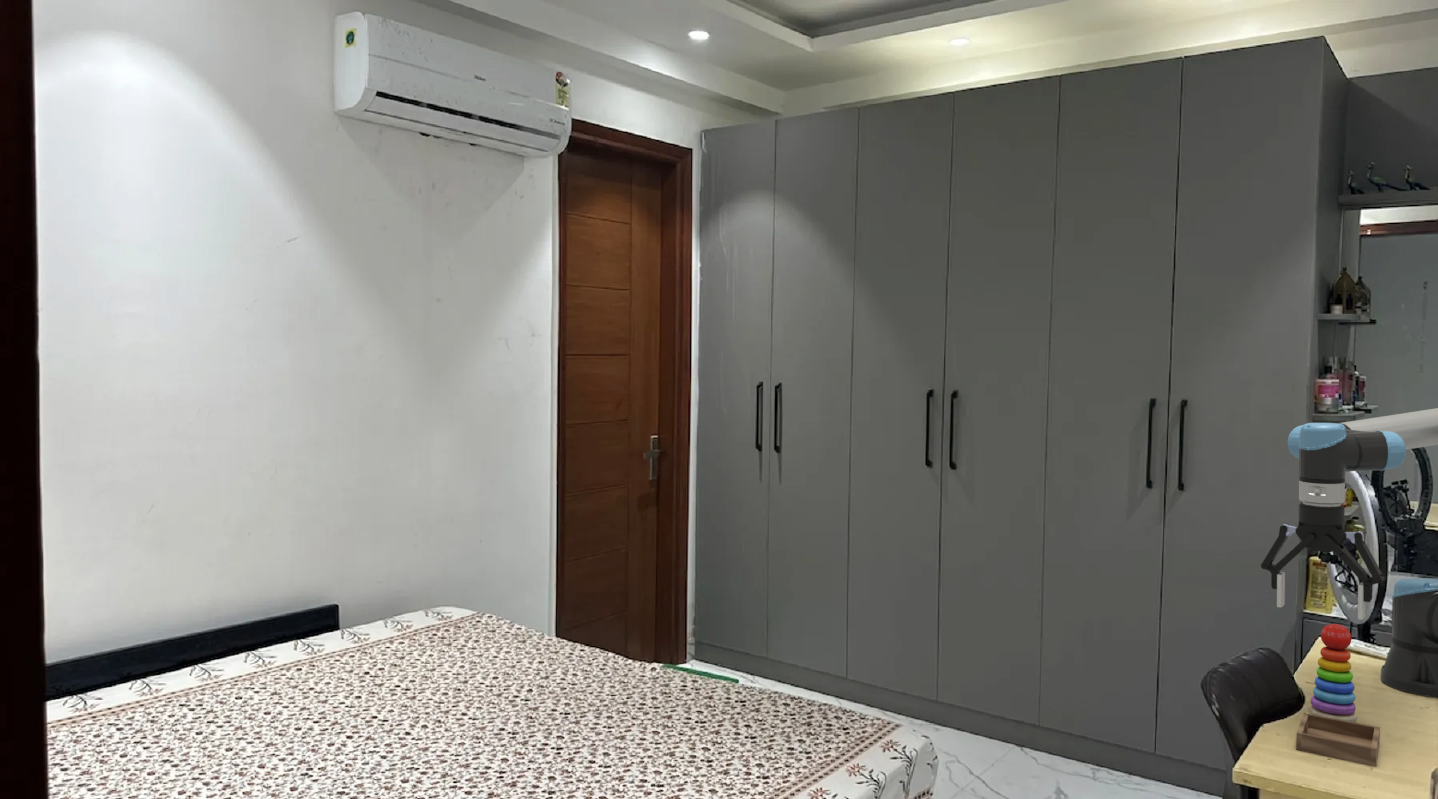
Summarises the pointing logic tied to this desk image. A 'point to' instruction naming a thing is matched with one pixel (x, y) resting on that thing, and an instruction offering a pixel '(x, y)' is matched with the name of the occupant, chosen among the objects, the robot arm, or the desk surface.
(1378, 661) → the desk surface
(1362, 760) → the walnut open square tray
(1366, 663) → the desk surface
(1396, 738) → the desk surface
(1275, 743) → the desk surface
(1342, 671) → the stacking toy
